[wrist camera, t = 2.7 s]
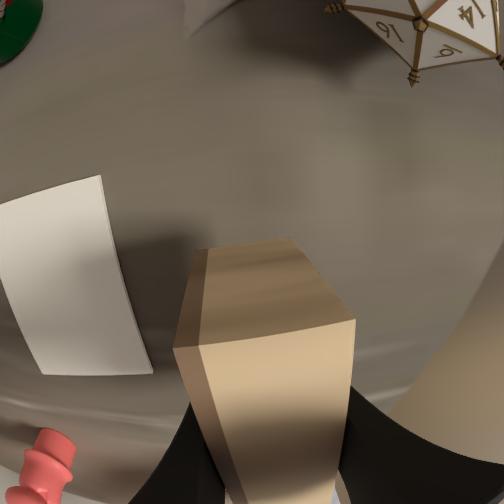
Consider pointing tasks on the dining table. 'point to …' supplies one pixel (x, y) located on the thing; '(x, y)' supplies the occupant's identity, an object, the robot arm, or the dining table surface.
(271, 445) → the wooden block
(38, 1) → the soda can
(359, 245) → the dining table surface
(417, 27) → the game die
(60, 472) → the figurine
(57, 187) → the pad
